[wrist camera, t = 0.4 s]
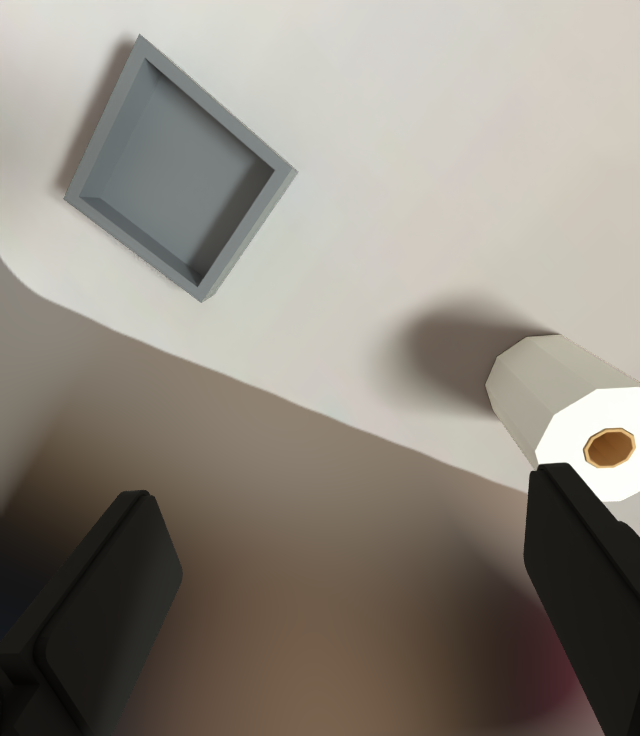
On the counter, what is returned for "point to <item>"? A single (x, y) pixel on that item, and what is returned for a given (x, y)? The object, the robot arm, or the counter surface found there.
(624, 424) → the toilet paper
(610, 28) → the counter surface
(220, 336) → the counter surface
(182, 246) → the box
